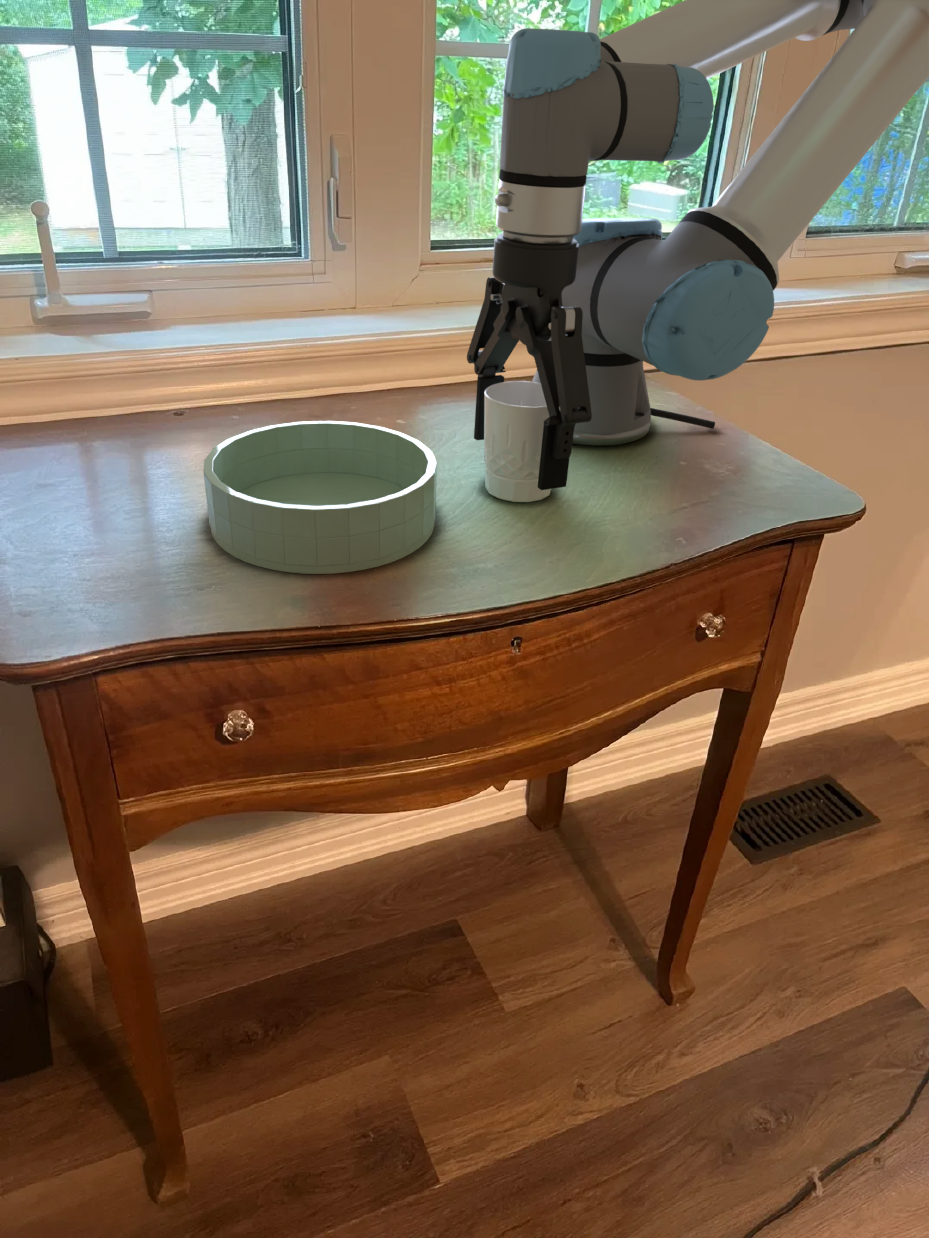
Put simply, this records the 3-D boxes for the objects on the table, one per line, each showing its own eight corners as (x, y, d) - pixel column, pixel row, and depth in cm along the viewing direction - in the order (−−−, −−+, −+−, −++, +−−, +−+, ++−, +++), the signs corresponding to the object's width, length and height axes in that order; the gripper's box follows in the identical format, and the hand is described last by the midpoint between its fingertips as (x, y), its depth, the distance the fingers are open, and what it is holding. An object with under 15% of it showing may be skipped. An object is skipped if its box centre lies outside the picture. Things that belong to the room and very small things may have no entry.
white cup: (551, 509, 92) (561, 411, 87) (472, 500, 93) (477, 402, 88) (560, 479, 98) (570, 385, 93) (487, 470, 100) (492, 377, 94)
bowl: (415, 473, 98) (416, 417, 95) (453, 566, 81) (456, 502, 78) (212, 481, 94) (206, 424, 91) (207, 581, 77) (200, 515, 74)
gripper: (440, 213, 91) (432, 423, 102) (574, 265, 72) (547, 516, 83) (508, 212, 94) (493, 417, 105) (655, 261, 75) (618, 505, 86)
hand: (517, 461), depth 94 cm, fingers open, 13 cm apart
